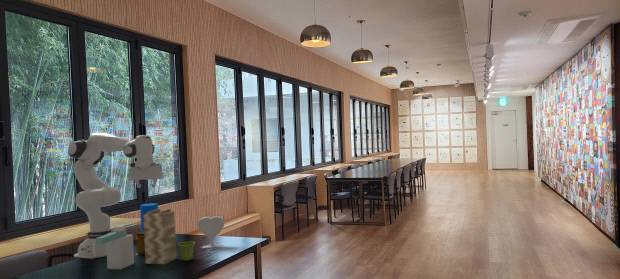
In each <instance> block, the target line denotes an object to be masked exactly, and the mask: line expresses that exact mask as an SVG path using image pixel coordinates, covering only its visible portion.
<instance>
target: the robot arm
mask: <svg viewBox="0 0 620 279" xmlns="http://www.w3.org/2000/svg"><path fill="white" fill-rule="evenodd" d="M67 152H68V155H69V156H70V157H71V158H73V159H77V160H76V161H75V162H74V164H73V166H72V167H73V173H74V176H75V178H76V180H77V181H78V183H79V186H80V187H81V189H82V190H83V191H80V192H78V193H77V194H76V195H75V199H74V201H75V204H76V207H78V208H79V209H81V210H83V211H84V213H85V215H86V216H87V218H88V222H89V231H88V232H86V233H85V234H86V236H87V238H85V240H84V241H83V242H81V243H80V244H79V245H78V248H77V253H75V254H73V258H80V259H95V258H101V257H107V246H106V243H104V244H96V238H98V237H100V236H103V235H106V234H109V233H112V229H111V217H110V215H108V214H107V213H105V212H102V210H101V208H103V207H110V206H113V205H116V204H118V203H119V202H120V201H121V198H122V193H121V191H120V190H119V188H117V187H115V186H111V185H110V184H108V183H106V182H105V181H104V180H102V179H101V178H100V176H99V175H98V172H96V169H95V168H94V166H96V165H98V164H99V163H100V162H101V161H102V160H103V159H104V157H105V156H106V155H105V154H106V153H114V152H116V153H117V152H123V154H124V156H125V157H126V158H129V159H136V160H135V161H133V162H130V163H129V165H128V167H129V169H128V179H129V181H132V180H133V181H134V182H135V184H136V187H137V188H142V184H140V180H141V181H143V180H146V181H147V180H148V181H149V180H152V182H153V183H152V184H151V188H156V186H157V185H156V184H157V183H158V180H162V179H163V178H164V173H163V166H162V164H161V163H159V162H154V156H153V154H155V146H154V144H153V140H152V138H151V136H149V135H146V134H145V135H144V134H143V135H142V134H141V135H140V134H139V135H137V136H136V137H135V138H134V139H133V140H130V139H127V138H122V137H119V136H116V135H113V134H110V133H104V132H94V133H91V134H90V135H89V137H88V139H87V140H84V139H80V140H76V141H73V142H71V144H70V145H69V146H68V150H67Z"/></svg>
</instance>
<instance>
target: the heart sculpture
mask: <svg viewBox="0 0 620 279" xmlns="http://www.w3.org/2000/svg"><path fill="white" fill-rule="evenodd" d="M224 219H225V218H224V217H222V216H219V215H215V216H212V217H210V216H203V217H201V218H199V219H198V221H197V228H198V230H199V231H200V232H201V233H202V234H203V235H204V236H205V237H208V238H210V244H207V245H202V246H203V247H202V246H201V247H202V248H201V249H209V248H221V247H224V245H223V244H214V240H215V239H214V238H215V237H216V236H218V235H219V234H220V233H221V232H222V230H223V229H224V227H225V220H224Z"/></svg>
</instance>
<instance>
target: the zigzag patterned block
mask: <svg viewBox="0 0 620 279" xmlns="http://www.w3.org/2000/svg"><path fill="white" fill-rule="evenodd" d="M171 210H172V209H171V208H167V209H164V210H161V209H160V208H158V209H157V210H153V211H150V212H147V214H145V215H143V219H144V241H145V254H144V257H145V259H144V260H145V264H150V265H167V264H169V263H171V262H172V261H174V260H177V240H176V238H177V237H176V222H175V221H176V220H175V217H176V216H175V211H171Z"/></svg>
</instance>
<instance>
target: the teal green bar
mask: <svg viewBox="0 0 620 279" xmlns="http://www.w3.org/2000/svg"><path fill="white" fill-rule="evenodd" d="M113 227H114V230H113V232H112V231H111V232H112V233H109V234H106V235H103V236H100V237H98V238H96V244H104V243H107V242H109V241H112V240H115V239H117V238H120V237H123V236H125V235H128V233H127V224H118V225H115V226H113Z"/></svg>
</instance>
